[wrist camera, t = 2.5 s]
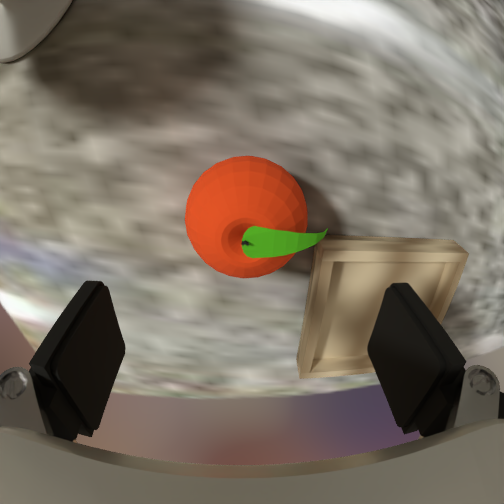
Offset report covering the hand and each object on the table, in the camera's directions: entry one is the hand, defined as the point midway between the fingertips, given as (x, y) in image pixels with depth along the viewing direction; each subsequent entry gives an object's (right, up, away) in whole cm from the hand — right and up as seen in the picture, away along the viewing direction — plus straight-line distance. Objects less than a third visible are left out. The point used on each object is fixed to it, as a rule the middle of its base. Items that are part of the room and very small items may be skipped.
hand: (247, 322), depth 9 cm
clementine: (0, +6, +11) cm, 12 cm away
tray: (+11, -2, +15) cm, 19 cm away
